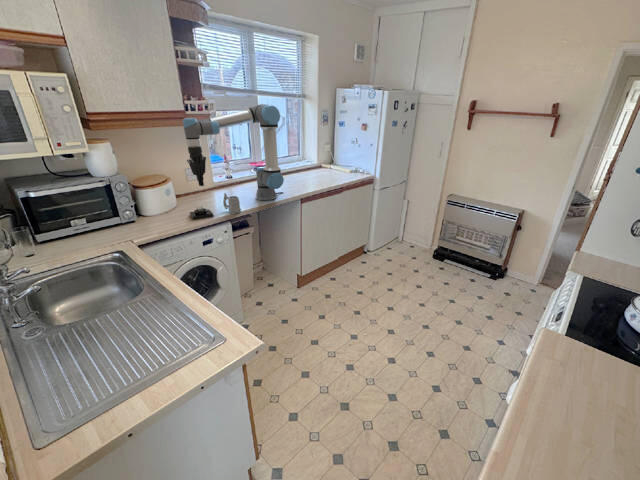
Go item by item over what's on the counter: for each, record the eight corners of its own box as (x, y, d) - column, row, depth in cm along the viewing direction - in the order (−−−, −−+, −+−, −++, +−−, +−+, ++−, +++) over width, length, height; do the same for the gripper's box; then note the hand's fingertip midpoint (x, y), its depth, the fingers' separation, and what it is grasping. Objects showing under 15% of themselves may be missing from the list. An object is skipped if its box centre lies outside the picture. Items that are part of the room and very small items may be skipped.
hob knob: (203, 209, 204) (203, 206, 204) (205, 211, 201) (204, 208, 200) (196, 210, 202) (195, 207, 201) (197, 212, 199) (197, 209, 198)
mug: (237, 214, 208) (235, 196, 203) (221, 212, 210) (218, 194, 205) (243, 210, 214) (241, 193, 209) (227, 209, 217) (225, 191, 212)
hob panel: (209, 212, 210) (208, 206, 208) (213, 216, 202) (212, 210, 201) (190, 215, 204) (189, 209, 202) (193, 220, 196) (192, 213, 195)
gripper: (198, 144, 197) (205, 182, 207) (180, 147, 186) (188, 187, 197) (207, 145, 194) (213, 184, 204) (189, 148, 183) (197, 188, 194)
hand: (201, 185), depth 201 cm, fingers closed
